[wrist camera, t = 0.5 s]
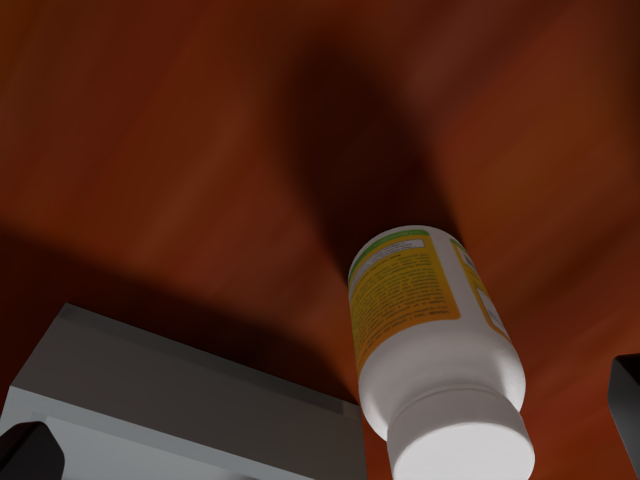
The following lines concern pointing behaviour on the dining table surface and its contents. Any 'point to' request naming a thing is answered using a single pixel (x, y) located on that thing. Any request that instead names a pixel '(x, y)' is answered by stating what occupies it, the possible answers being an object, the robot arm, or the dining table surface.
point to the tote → (175, 410)
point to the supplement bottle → (435, 361)
